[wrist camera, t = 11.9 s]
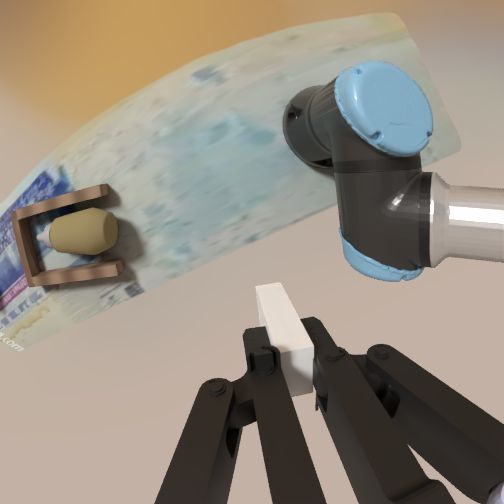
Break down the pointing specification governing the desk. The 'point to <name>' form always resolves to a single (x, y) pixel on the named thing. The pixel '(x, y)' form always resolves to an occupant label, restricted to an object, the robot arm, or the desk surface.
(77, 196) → the bottle rest
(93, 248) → the squeeze bottle
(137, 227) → the desk surface
